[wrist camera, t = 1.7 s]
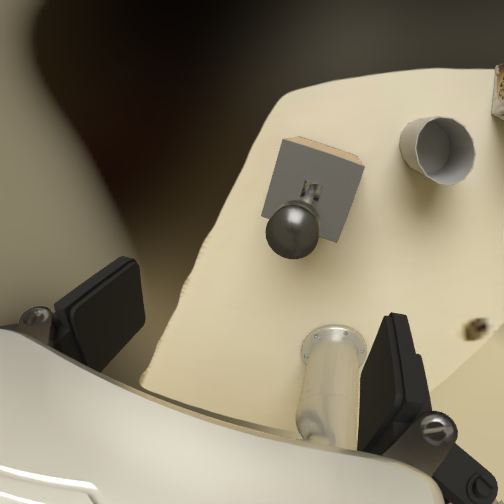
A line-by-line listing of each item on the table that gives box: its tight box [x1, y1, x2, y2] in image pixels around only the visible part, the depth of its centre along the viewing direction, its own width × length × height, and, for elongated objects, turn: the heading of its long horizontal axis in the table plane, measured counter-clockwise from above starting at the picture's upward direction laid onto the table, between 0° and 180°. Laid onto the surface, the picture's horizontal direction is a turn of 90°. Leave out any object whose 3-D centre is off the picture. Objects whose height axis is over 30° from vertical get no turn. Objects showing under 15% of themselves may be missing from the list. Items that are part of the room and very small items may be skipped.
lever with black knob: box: [266, 180, 323, 259], centre depth 27 cm, size 6×6×17 cm
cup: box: [399, 116, 476, 185], centre depth 33 cm, size 8×8×10 cm
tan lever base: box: [261, 137, 365, 243], centre depth 39 cm, size 12×9×14 cm
